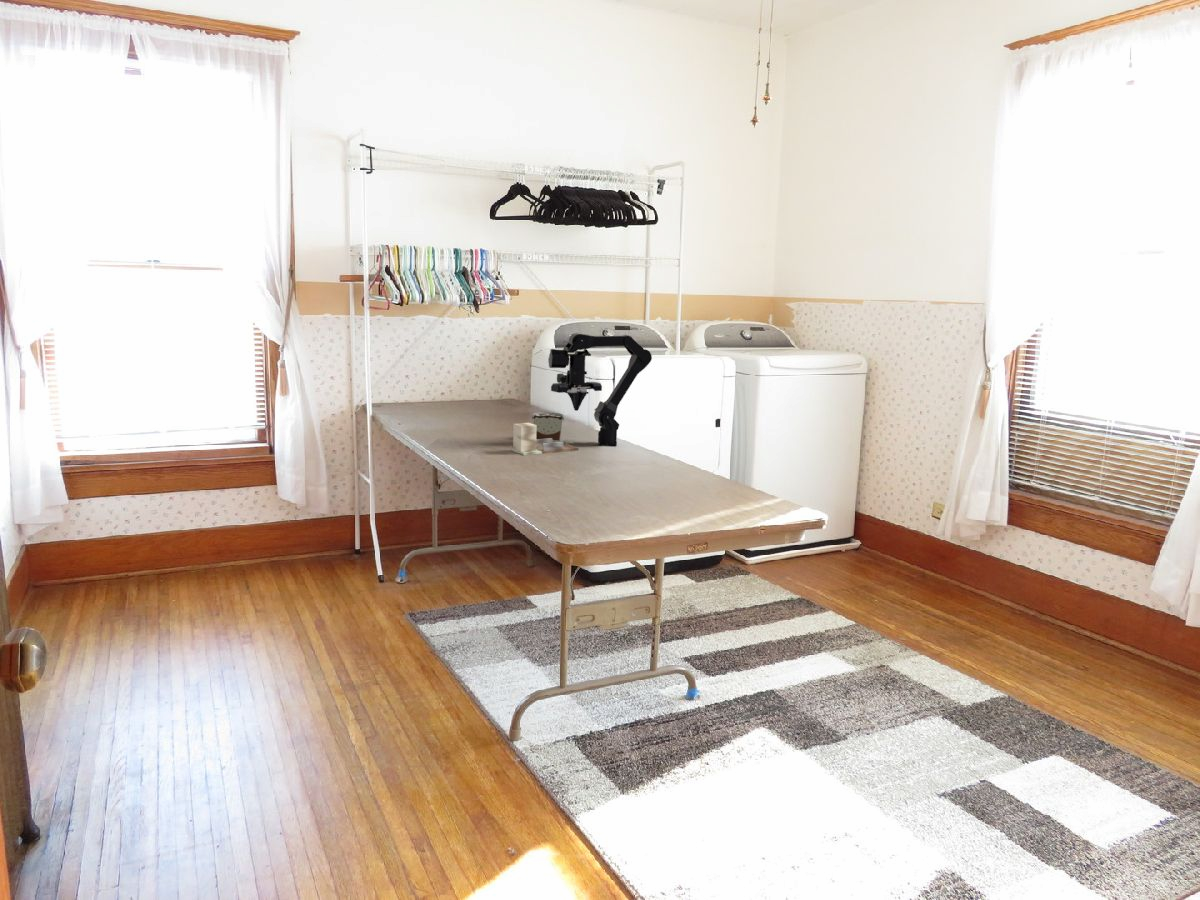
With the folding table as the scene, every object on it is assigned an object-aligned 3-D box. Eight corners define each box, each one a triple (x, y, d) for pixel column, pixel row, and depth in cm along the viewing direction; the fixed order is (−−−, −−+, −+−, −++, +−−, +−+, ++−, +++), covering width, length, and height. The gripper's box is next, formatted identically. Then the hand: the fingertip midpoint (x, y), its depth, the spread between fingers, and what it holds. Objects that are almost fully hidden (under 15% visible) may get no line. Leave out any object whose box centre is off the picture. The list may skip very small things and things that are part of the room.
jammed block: (528, 447, 310) (528, 422, 308) (536, 450, 305) (536, 425, 303) (513, 448, 307) (513, 423, 305) (521, 451, 302) (521, 426, 300)
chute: (564, 445, 320) (564, 436, 320) (578, 450, 312) (578, 441, 311) (511, 450, 309) (511, 441, 308) (524, 455, 300) (524, 445, 300)
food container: (565, 438, 335) (566, 412, 333) (563, 441, 329) (564, 415, 327) (534, 436, 336) (534, 411, 334) (531, 439, 330) (531, 413, 328)
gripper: (587, 365, 327) (586, 406, 330) (544, 366, 317) (543, 408, 320) (603, 368, 318) (601, 410, 321) (559, 369, 308) (558, 413, 311)
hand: (576, 410), depth 319 cm, fingers closed
